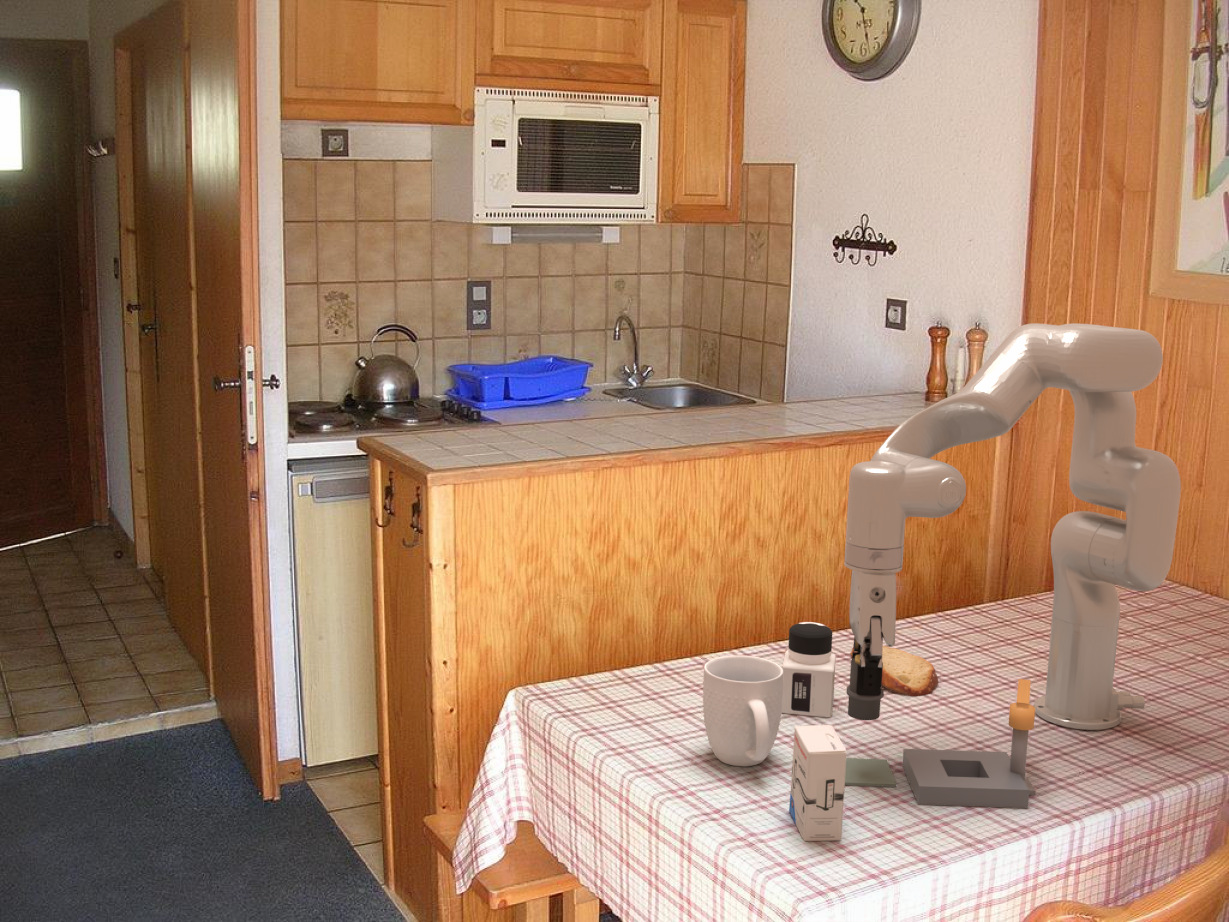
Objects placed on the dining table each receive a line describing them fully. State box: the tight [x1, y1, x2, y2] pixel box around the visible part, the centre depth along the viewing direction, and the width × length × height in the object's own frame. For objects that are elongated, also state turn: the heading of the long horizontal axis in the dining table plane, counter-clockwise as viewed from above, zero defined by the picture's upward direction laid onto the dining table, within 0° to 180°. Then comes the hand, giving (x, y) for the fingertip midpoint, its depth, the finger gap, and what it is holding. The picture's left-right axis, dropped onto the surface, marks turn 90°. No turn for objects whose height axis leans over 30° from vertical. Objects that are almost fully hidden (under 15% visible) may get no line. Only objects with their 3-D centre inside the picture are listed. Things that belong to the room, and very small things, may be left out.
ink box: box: [788, 724, 848, 842], centre depth 162 cm, size 9×5×12 cm, turn 5°
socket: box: [902, 728, 1037, 809], centre depth 174 cm, size 16×12×8 cm
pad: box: [845, 757, 897, 788], centre depth 179 cm, size 8×8×1 cm
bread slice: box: [849, 645, 939, 698], centre depth 218 cm, size 18×18×4 cm
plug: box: [845, 654, 885, 721], centre depth 176 cm, size 5×5×8 cm
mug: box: [702, 654, 783, 767], centre depth 180 cm, size 15×11×13 cm
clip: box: [1008, 678, 1036, 731], centre depth 177 cm, size 13×3×3 cm, turn 162°
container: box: [781, 621, 837, 718], centre depth 201 cm, size 8×8×13 cm
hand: (865, 686), depth 176 cm, fingers closed on plug, 4 cm apart
